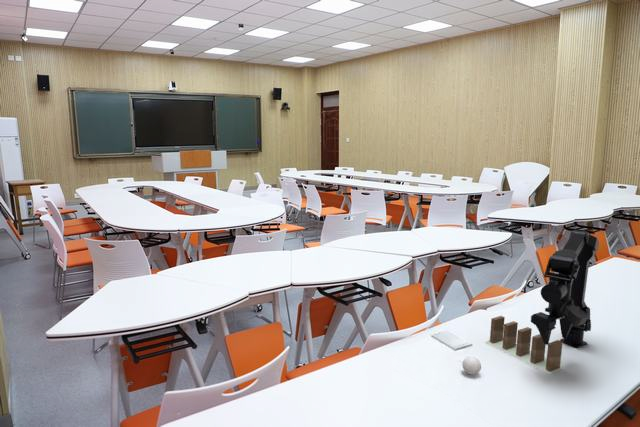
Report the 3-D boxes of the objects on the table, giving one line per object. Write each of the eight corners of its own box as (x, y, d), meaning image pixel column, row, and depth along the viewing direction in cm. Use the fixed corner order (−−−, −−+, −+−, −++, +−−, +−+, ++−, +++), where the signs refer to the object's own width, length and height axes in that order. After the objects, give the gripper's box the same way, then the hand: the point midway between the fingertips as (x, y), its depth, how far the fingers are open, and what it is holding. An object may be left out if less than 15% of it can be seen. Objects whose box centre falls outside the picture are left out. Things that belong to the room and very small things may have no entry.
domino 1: (489, 341, 163) (491, 318, 161) (499, 338, 165) (500, 315, 164) (493, 343, 161) (495, 320, 160) (502, 340, 164) (504, 317, 162)
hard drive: (431, 334, 167) (455, 348, 156) (447, 330, 171) (472, 343, 160) (430, 338, 167) (455, 352, 156) (447, 334, 171) (472, 347, 160)
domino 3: (515, 354, 153) (517, 330, 152) (525, 351, 156) (527, 327, 154) (519, 356, 152) (522, 331, 150) (529, 353, 154) (531, 328, 153)
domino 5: (545, 369, 144) (548, 343, 142) (555, 365, 146) (557, 339, 145) (550, 371, 142) (552, 345, 141) (559, 367, 145) (562, 341, 143)
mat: (501, 337, 167) (501, 336, 167) (565, 368, 145) (565, 367, 145) (484, 343, 163) (484, 342, 162) (547, 375, 141) (548, 374, 141)
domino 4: (530, 361, 149) (532, 336, 147) (539, 358, 151) (542, 333, 149) (534, 364, 147) (536, 338, 146) (544, 360, 150) (546, 335, 148)
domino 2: (502, 348, 158) (504, 324, 156) (511, 344, 160) (513, 321, 159) (506, 350, 157) (508, 325, 155) (515, 346, 159) (517, 322, 157)
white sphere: (483, 373, 142) (484, 357, 141) (475, 380, 138) (476, 363, 137) (461, 364, 148) (462, 348, 146) (452, 371, 144) (453, 354, 143)
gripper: (566, 308, 128) (561, 359, 131) (603, 297, 137) (598, 344, 140) (531, 296, 138) (527, 343, 141) (568, 286, 147) (564, 331, 150)
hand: (555, 341), depth 143 cm, fingers open, 9 cm apart
